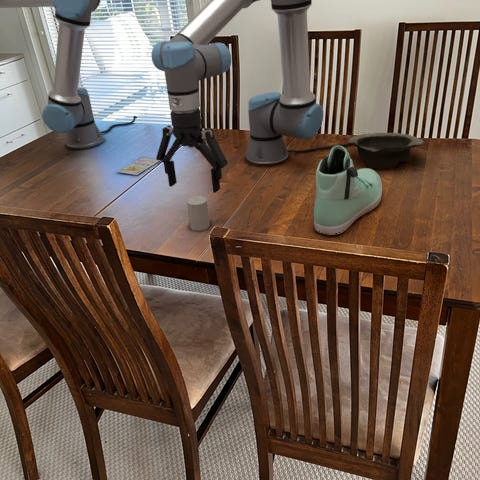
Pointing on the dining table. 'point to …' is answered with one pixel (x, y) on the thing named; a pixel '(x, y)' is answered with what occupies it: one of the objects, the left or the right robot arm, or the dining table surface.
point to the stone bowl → (384, 148)
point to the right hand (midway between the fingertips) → (194, 187)
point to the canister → (198, 213)
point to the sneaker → (343, 192)
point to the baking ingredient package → (138, 166)
